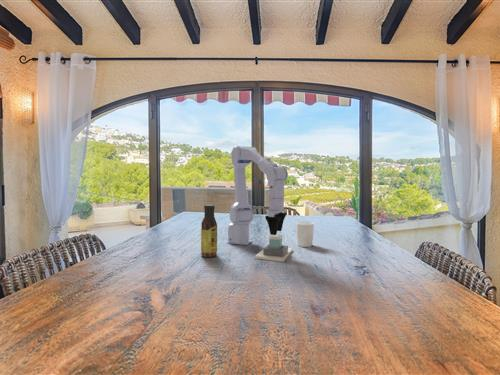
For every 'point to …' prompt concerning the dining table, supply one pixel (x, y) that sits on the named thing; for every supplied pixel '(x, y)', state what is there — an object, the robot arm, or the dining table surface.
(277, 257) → the outlet plate
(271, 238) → the block
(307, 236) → the white cup
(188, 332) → the dining table surface
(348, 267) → the dining table surface
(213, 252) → the sauce bottle
